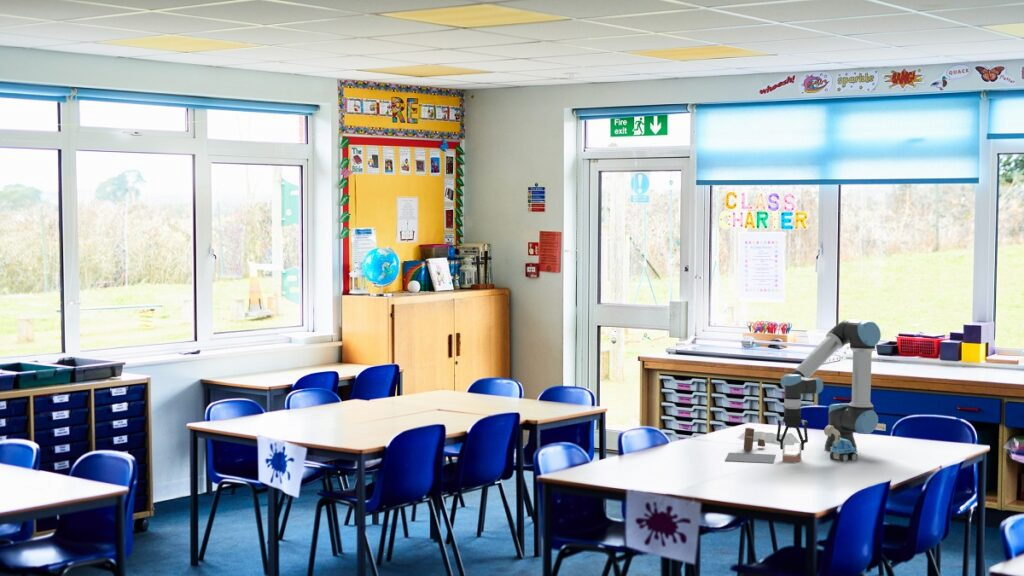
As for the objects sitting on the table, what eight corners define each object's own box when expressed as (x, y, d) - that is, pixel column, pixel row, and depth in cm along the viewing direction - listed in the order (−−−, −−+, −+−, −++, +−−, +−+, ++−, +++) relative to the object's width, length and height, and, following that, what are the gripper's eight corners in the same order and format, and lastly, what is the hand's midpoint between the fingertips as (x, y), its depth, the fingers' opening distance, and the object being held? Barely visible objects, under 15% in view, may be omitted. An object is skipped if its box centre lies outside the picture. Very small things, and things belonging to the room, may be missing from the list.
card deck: (801, 460, 573) (801, 451, 573) (795, 463, 565) (795, 455, 564) (788, 459, 576) (788, 450, 576) (782, 462, 567) (782, 453, 567)
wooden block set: (753, 454, 589) (755, 433, 588) (736, 451, 593) (738, 430, 593) (765, 449, 605) (767, 428, 604) (748, 446, 609) (750, 426, 608)
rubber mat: (775, 456, 583) (775, 454, 583) (773, 464, 562) (773, 462, 562) (728, 454, 589) (728, 452, 589) (724, 462, 567) (724, 460, 567)
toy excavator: (818, 460, 572) (819, 424, 571) (846, 458, 579) (846, 422, 579) (831, 464, 564) (831, 426, 563) (858, 461, 572) (859, 424, 571)
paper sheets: (811, 443, 625) (812, 432, 625) (792, 448, 610) (792, 437, 610) (752, 435, 648) (752, 425, 648) (731, 440, 634) (732, 429, 633)
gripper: (814, 407, 570) (814, 456, 571) (771, 405, 576) (770, 454, 576) (814, 409, 563) (813, 459, 564) (770, 407, 568) (769, 457, 569)
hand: (791, 456), depth 570 cm, fingers closed on card deck, 7 cm apart
